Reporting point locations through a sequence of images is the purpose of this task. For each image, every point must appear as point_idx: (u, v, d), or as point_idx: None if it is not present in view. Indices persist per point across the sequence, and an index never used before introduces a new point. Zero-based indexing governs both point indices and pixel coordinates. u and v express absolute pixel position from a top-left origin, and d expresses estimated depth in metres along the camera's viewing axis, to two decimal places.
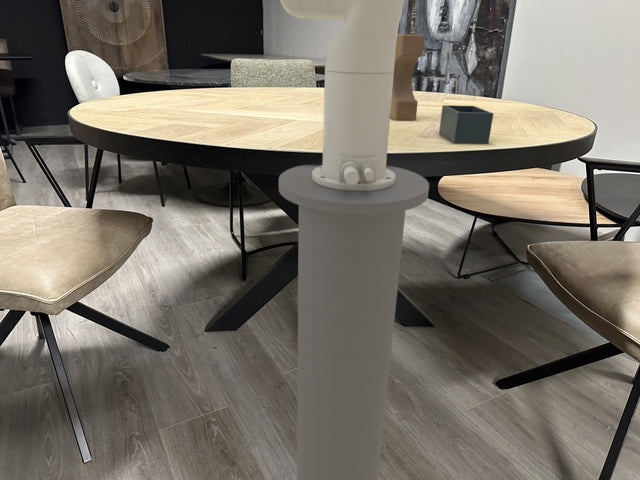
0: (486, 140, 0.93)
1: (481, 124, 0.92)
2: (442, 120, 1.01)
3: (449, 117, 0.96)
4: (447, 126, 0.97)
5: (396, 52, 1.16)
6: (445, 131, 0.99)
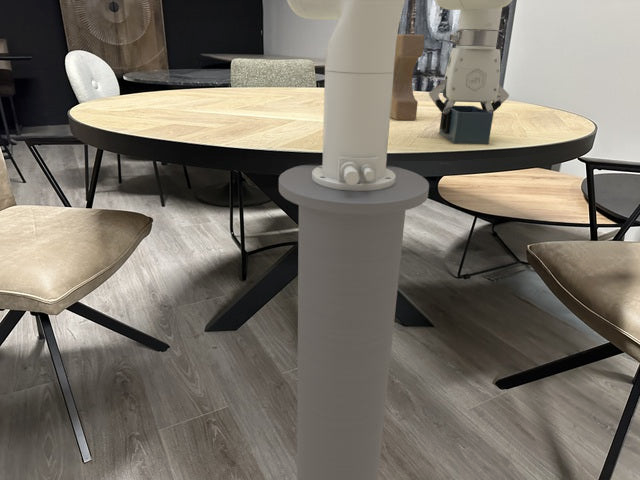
0: (486, 140, 0.93)
1: (481, 124, 0.92)
2: None
3: None
4: None
5: (396, 52, 1.16)
6: None
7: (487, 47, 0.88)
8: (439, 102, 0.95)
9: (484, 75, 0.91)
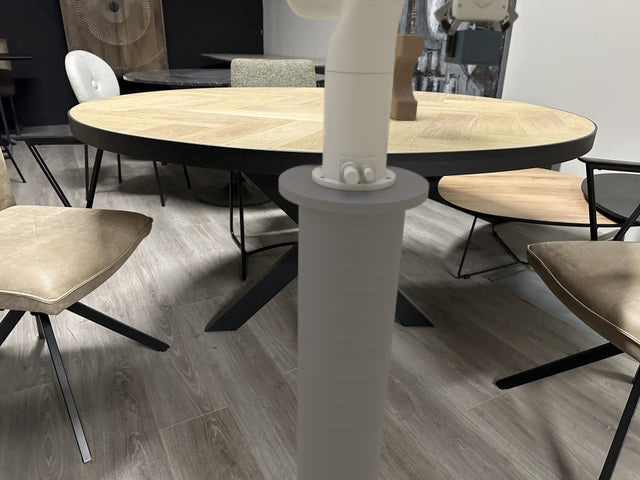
0: (494, 61, 0.88)
1: (489, 43, 0.87)
2: None
3: None
4: None
5: (396, 52, 1.16)
6: None
7: None
8: (444, 22, 0.89)
9: None
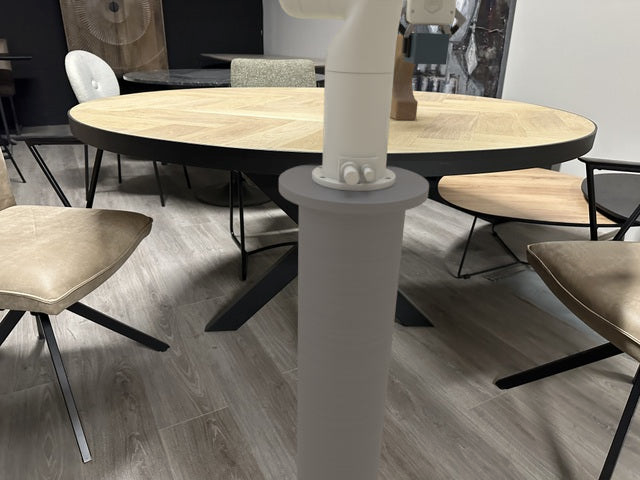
0: (444, 61, 0.99)
1: (438, 44, 0.98)
2: None
3: None
4: None
5: (396, 52, 1.16)
6: None
7: None
8: (400, 26, 1.00)
9: None
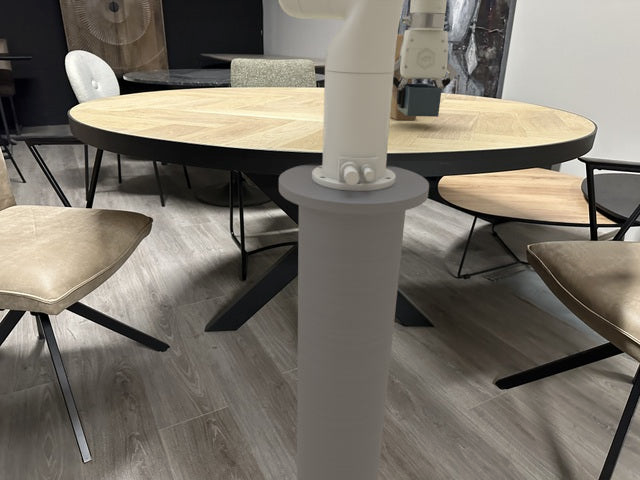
0: (436, 113, 1.04)
1: (431, 98, 1.03)
2: None
3: None
4: None
5: (396, 52, 1.16)
6: None
7: (434, 28, 0.99)
8: (394, 79, 1.05)
9: (433, 54, 1.01)
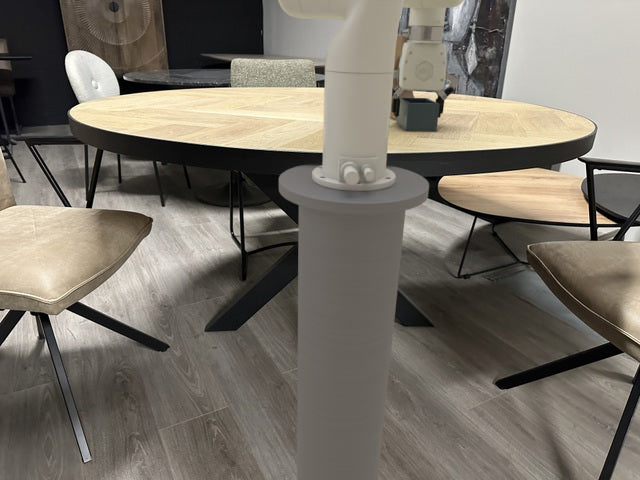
0: (434, 128, 1.05)
1: (429, 113, 1.04)
2: None
3: (402, 108, 1.08)
4: (401, 116, 1.09)
5: (396, 52, 1.16)
6: (400, 120, 1.11)
7: (433, 41, 1.00)
8: None
9: (431, 66, 1.02)
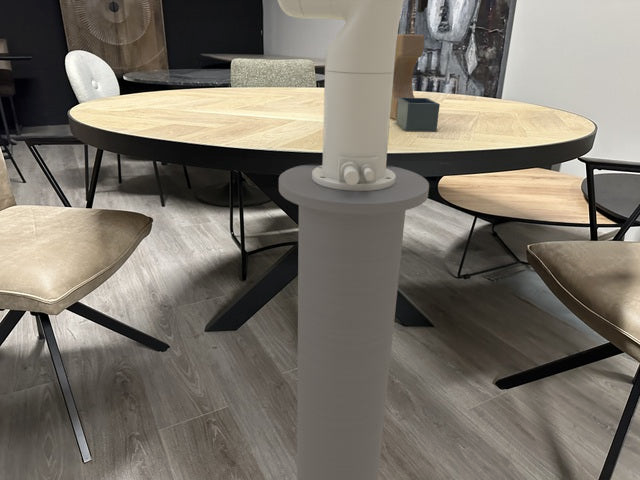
0: (434, 128, 1.05)
1: (429, 113, 1.04)
2: (398, 111, 1.13)
3: (402, 108, 1.08)
4: (401, 116, 1.09)
5: (396, 52, 1.16)
6: (400, 120, 1.11)
7: None
8: None
9: None
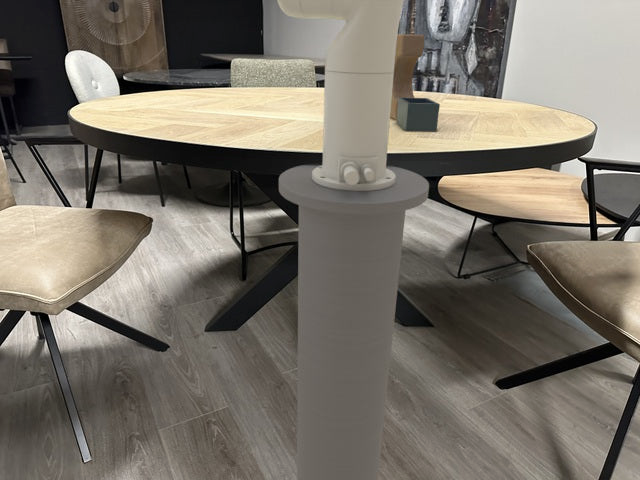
0: (434, 128, 1.05)
1: (429, 113, 1.04)
2: (398, 111, 1.13)
3: (402, 108, 1.08)
4: (401, 116, 1.09)
5: (396, 52, 1.16)
6: (400, 120, 1.11)
7: None
8: None
9: None
